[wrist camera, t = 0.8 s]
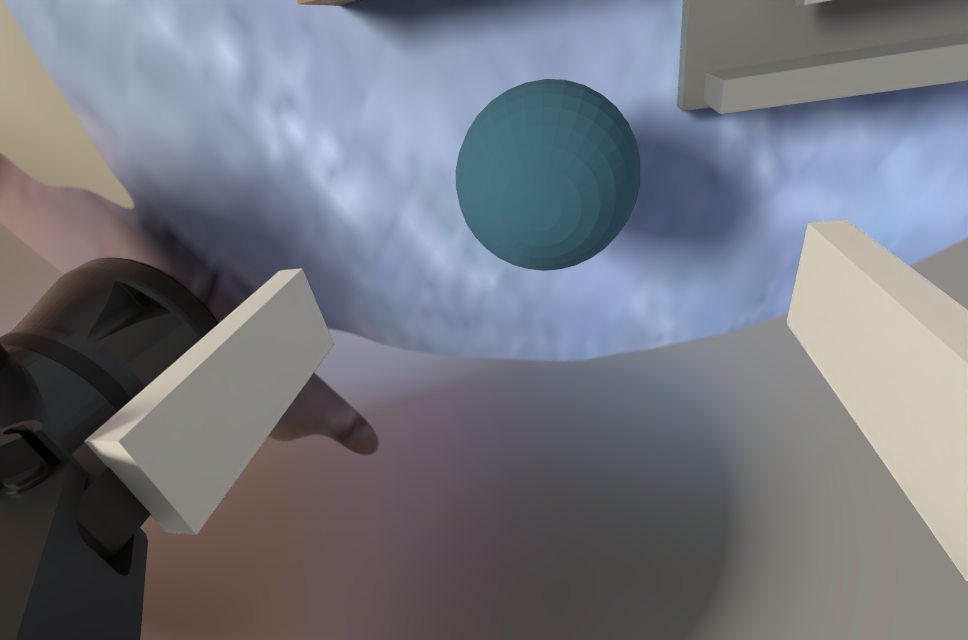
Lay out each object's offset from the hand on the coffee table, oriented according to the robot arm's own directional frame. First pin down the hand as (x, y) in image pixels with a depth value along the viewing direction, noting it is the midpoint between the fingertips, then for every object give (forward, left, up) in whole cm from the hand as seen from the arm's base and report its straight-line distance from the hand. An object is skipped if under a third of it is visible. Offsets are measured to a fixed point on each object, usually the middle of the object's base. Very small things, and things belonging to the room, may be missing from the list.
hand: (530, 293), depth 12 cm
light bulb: (0, 0, -19) cm, 19 cm away
